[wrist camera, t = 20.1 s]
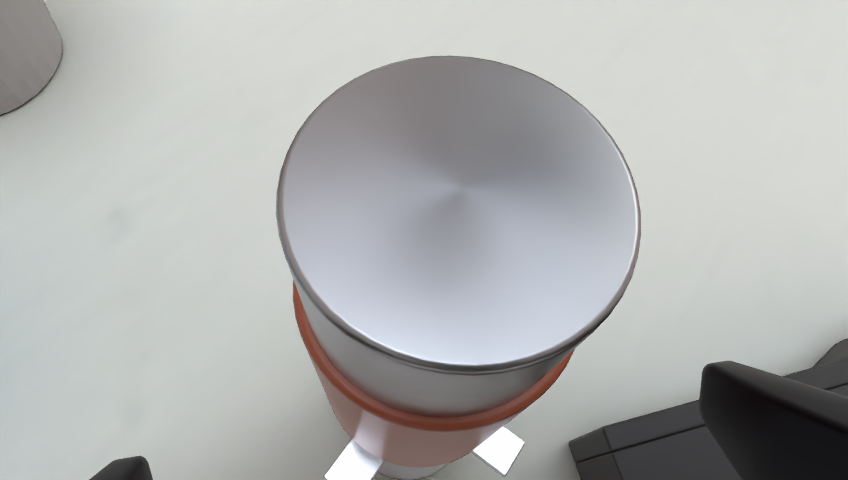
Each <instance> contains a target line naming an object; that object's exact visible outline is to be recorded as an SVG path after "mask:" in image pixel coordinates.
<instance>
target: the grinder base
mask: <svg viewBox="0 0 848 480" xmlns="http://www.w3.org/2000/svg"><path fill="white" fill-rule="evenodd" d="M782 377H785V378H788V379H791V380H794V381H798V382H801V383H804V384H807V385H811V386H814V387H817V388H820V389H824V390H827V391H830V392H833V393H836V394H840V395H843V396H846V397H848V339H845V340H843V341H840V342H839V343H837V344H835V345H834V346H833V347H832V348H831V349H830V350H829V351H828V352H827V354H826V355H825V356H824V357H823V358H822V359H821V360H820V361H819V362H818V363H817V364H816V365H815V366H814V367H813V368H810V369H807V370H803V371H800V372H796V373H793V374H789V375H785V376H782ZM569 445H570V448H571V451H572V454H573V457H574V460H575V461H576V462H578V463H577V464H576V466H577V469H578V472H579V474H580V477H581V480H742V479H741V478H740V476H739V475H738V473H737V472H736V470H735V468H734V467H733V465H732V464H731V462H730V461H729V459H728V458H727V456H726V455H725V453H724V452H723V450H722V449H721V447H720V446H719V444H718V443H717V441H716V440H715V438H714V437H713V435H712V434H711V432H710V430H709V429H708V427H707V426H706V424H705V423H704V421H703V419H702V417H701V414H700V410H699V400H696V401H693V402H689V403H686V404H682V405H678V406H675V407H671V408H668V409H664V410H661V411H657V412H653V413H650V414H646V415H643V416H639V417H636V418H632V419H628V420H625V421H621V422H618V423H614V424H611V425H607V426H604V427H601V428H599V429H597V430H594V431H592V432H590V433H587V434H585V435H583V436H581V437H578V438H576V439H574V440H571V441H570V442H569Z"/></svg>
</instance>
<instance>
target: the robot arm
mask: <svg viewBox="0 0 848 480" xmlns="http://www.w3.org/2000/svg"><path fill="white" fill-rule="evenodd" d="M699 410H700V414H701V417H702V419H703V421H704V423H705V424H706V426H707V427H708V429H709V430H710V432H711V434H712V435H713V437H714V438H715V440H716V441H717V443H718V444H719V446H720V447H721V449H722V450H723V452H724V453H725V455H726V456H727V458H728V459H729V461H730V462H731V464H732V465H733V467H734V468H735V470H736V472H737V473H738V475H739V476H740V478H741V479H742V480H848V397H846V396H843V395H840V394H836V393H833V392H830V391H827V390H824V389H820V388H817V387H814V386H811V385H807V384H804V383H801V382H798V381H794V380H791V379H788V378H785V377H781V376H778V375H775V374H772V373H768V372H765V371H762V370H759V369H755V368H752V367H749V366H746V365H743V364H739V363H736V362H733V361H723V362H717V363H710V364H708V365H706V366H705V367H704V369H703V372H702V380H701V390H700V400H699ZM90 480H153V478H152V475H151V471H150V468H149V464H148V462H147V460H146V459H145V458H144V457H142V456H136V457H130V458H123V459H117V460H114V461H112V462H111V463H110V464H108V465H107V466H106V467H105V468H103V469H102V470H101V471H100V472H98V473H97V474H96V475H95V476H93V477H92V478H91V479H90Z"/></svg>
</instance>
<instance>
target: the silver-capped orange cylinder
mask: <svg viewBox="0 0 848 480" xmlns="http://www.w3.org/2000/svg"><path fill="white" fill-rule="evenodd" d="M276 216H277V224H278V231H279V237H280V240H281V244H282V247H283V251H284V254H285V257H286V260H287V263H288V266H289V268H290V271H291V274H292V277H293V302H294V309H295V317H296V320H297V324H298V327H299V331H300V334H301V337H302V339H303V342H304V344H305V346H306V349H307V351H308V353H309V355H310V358H311V360H312V362H313V365H314V367H315V369H316V372H317V374H318V376H319V379H320V381H321V383H322V386H323V388H324V390H325V392H326V395H327V397H328V399H329V402H330V404H331V406H332V409H333V411H334V413H335V415H336V417H337V419H338V421H339V422H340V424H341V426H342V427H343V429H344V430H345V431H346V432H347V434H348V435H349V436H350V437H351V440H350V441H349V443H348V444H347V445H346V447H345V448H344V449H343V451H342V452H341V453H340V455H339V456H338V457H337V459H336V460H335V461H334V463H333V464H332V465H331V467H330V468H329V470H328V471H327V472H326V474H325V475H324V478H325V479H326V480H373V479H374V477H375V476H376V474H377V473H378V472H380V473H382V474H384V475H386V476H389V477H392V478H396V479H404V480H411V479H419V478H423V477H426V476H429V475H431V474H433V473H435V472H437V471H439V470H440V469H441V468H443V467H444V466H445V465H447V464H448V463H449V462H452V461H454V460H457V459H459V458H461V457H463V456H465V455H466V454H468V453H470V452H471V453H472V454H473V455H475V456H476V457H477V458H479V459H480V460H481V461H483V462H484V463H485V464H487V465H488V466H489V467H491V468H492V469H493V470H495V471H496V472H497V473H499V474H500V475H501V476H503V477H504V476H506V475H507V473H508V471H509V470H510V468H511V466H512V464H513V463H514V461H515V459H516V458H517V456H518V454H519V453H520V451H521V449H522V448H523V446H524V444H525V441H523V440H522V439H521V438H519V437H518V436H517V435H515V434H514V433H513V432H511V431H510V430H508V429H507V428H506V427H504V425H506V424H507V423H508V422H509V421H511V420H512V419H513V418H514V417H516V416H517V415H518V414H519V413H521V412H522V411H523V410H524V409H526V408H527V407H528V406H529V405H531V404H532V403H533V402H534V401H536V400H537V399H538V398H539V397H541V396H542V395H543V394H544V393H545V392H546V391H547V390H548V389H549V388H550V387H551V385H552V384H553V383H554V382H555V381H556V380H557V378H558V377H559V376H560V374H561V373H562V371H563V370H564V368H565V367H566V365H567V363H568V361H569V360H570V358H571V356H572V354H573V352H574V350H575V348H576V347H577V346H578V345H579V344H580V343H582V342H583V341H584V340H585V339H586V338H587V337H588V336H589V335H590V334H591V333H593V332H594V331H595V330H596V329H597V327H598V326H599V325H600V324H601V323H602V322H603V321H604V320H605V319H606V318H607V317H608V316H609V315H610V314H611V312H612V311H613V309H614V308H615V306H616V305H617V303H618V302H619V301H620V299H621V298H622V296H623V294H624V292H625V290H626V288H627V286H628V284H629V282H630V280H631V278H632V275H633V271H634V268H635V265H636V261H637V258H638V252H639V245H640V238H641V215H640V206H639V200H638V194H637V190H636V187H635V183H634V180H633V177H632V174H631V171H630V169H629V167H628V165H627V163H626V160H625V158H624V156H623V154H622V152H621V151H620V149H619V148H618V146H617V144H616V143H615V141H614V140H613V138H612V137H611V135H610V134H609V133H608V132H607V130H606V129H605V128H604V127H603V125H602V124H601V123H600V122H599V121H598V120H597V119H596V118H595V117H594V116H593V115H592V114H591V113H590V112H589V111H588V110H587V109H586V108H585V107H584V106H583V105H582V104H580V103H579V102H578V101H576V100H575V99H574V98H573V97H571V96H570V95H569V94H567V93H566V92H564V91H563V90H561V89H560V88H558V87H556V86H555V85H553V84H552V83H550V82H548V81H546V80H544V79H542V78H540V77H538V76H536V75H534V74H532V73H529V72H527V71H524V70H521V69H519V68H516V67H513V66H510V65H506V64H503V63H499V62H495V61H491V60H485V59H480V58H474V57H462V56H430V57H422V58H414V59H408V60H404V61H400V62H395V63H391V64H388V65H385V66H383V67H380V68H377V69H374V70H371V71H369V72H367V73H365V74H363V75H361V76H359V77H357V78H355V79H353V80H352V81H350V82H348V83H347V84H345V85H344V86H342V87H340V88H339V89H337V90H336V91H335V92H334V93H332V94H331V95H330V96H329V97H328V98H326V99H325V100H324V101H323V102H322V103H321V104H320V105H319V106H318V107H317V108H316V109H315V110H314V111H313V112H312V113H311V114H310V116H309V117H308V118H307V120H306V121H305V122H304V124H303V125H302V127H301V128H300V129H299V131H298V132H297V134H296V136H295V138H294V140H293V142H292V144H291V146H290V148H289V150H288V152H287V154H286V157H285V160H284V163H283V166H282V169H281V172H280V176H279V182H278V188H277V198H276Z"/></svg>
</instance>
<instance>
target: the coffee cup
mask: <svg viewBox="0 0 848 480" xmlns="http://www.w3.org/2000/svg"><path fill="white" fill-rule="evenodd" d="M61 55H62V40H61V37H60V35H59V32H58V30H57V27H56V25H55V23H54V21H53V19H52V17H51V15H50V13H49V11H48V9H47V7H46V5H45V3H44V1H43V0H0V115H1V114H4V113H7V112H10V111H11V110H13V109H15V108H17V107H19V106H21V105H23V104H25V103H26V102H27V101H29V100H30V99H31V98H33V97H34V96H35V95H37V94H38V93H39V92H40V91H41V90H42V89H43V88H44V87H45V86H46V84H47V83H48V82H49V80H50V79H51V78H52V76H53V75H54V73H55V71H56V69H57V67H58V65H59V63H60V59H61Z"/></svg>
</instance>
